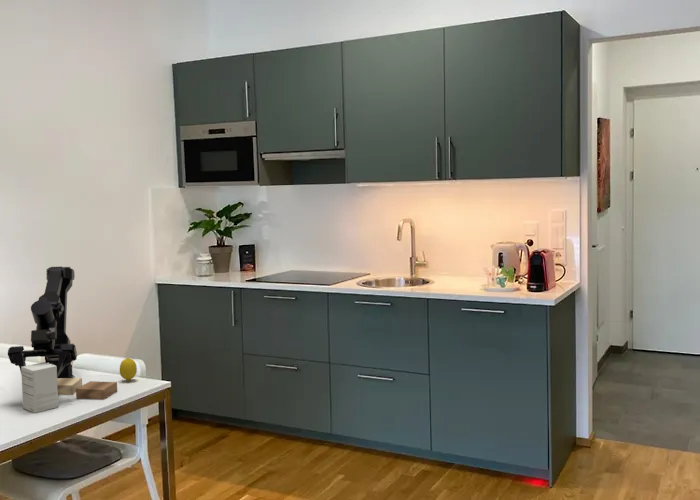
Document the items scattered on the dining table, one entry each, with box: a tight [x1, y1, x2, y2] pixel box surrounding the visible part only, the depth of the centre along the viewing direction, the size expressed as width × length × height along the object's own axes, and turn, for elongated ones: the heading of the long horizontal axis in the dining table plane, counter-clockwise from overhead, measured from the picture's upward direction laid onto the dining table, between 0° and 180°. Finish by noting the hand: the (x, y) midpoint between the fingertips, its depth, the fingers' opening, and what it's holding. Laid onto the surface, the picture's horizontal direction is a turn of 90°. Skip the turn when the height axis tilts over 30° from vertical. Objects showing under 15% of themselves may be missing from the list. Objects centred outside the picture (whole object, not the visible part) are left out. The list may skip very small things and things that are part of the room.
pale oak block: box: [57, 377, 83, 396], centre depth 229 cm, size 9×9×3 cm
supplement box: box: [20, 361, 59, 414], centre depth 210 cm, size 7×7×13 cm
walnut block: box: [75, 380, 118, 400], centre depth 224 cm, size 9×9×3 cm
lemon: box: [119, 357, 138, 382], centre depth 240 cm, size 6×6×8 cm
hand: (39, 377), depth 211 cm, fingers open, 9 cm apart
